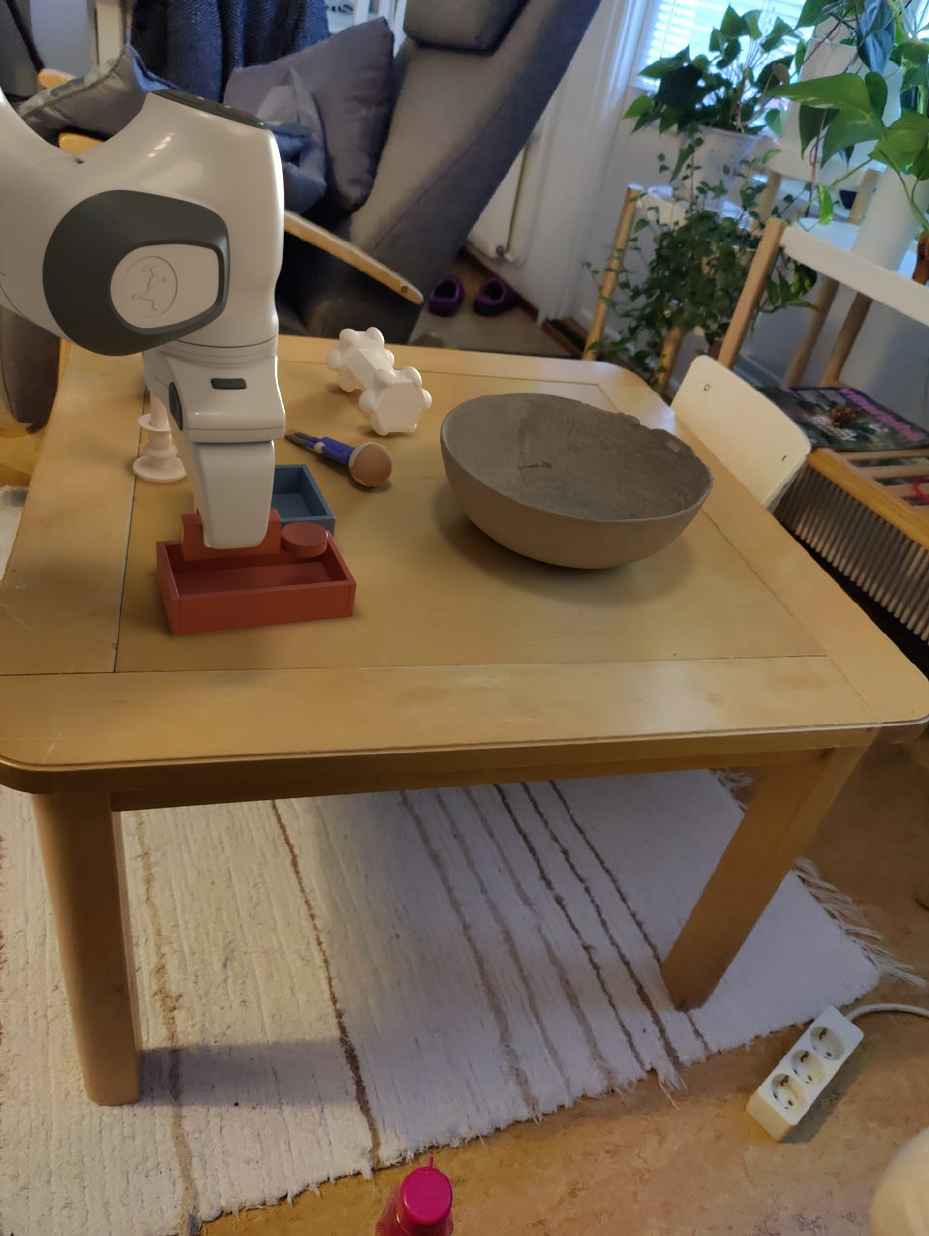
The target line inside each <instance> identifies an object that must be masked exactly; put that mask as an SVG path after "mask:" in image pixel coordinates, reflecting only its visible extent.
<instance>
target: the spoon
mask: <svg viewBox="0 0 929 1236" xmlns="http://www.w3.org/2000/svg"><path fill="white" fill-rule="evenodd" d="M179 524H180V525H179V526H180V527H179V529H180V540H181V550H182V553H183V557H184V560H185V561H192V560H204V559H216V558H228V557H240V556H252V555H264V554H276V553H280V532H281V547H282V549H283V550H284V551H285V552H287V553H288V554H291V555H293V556H297V557H305V558H308V557H315V556H318V555H321V554H322V553H324V552H325V550H326V548H327V536H328V535H327V532H326V530H325V529H324V528H322V527H321V526H319V525H317V524H314V523H309V522H294V523H290V524H288V525H286V526H284V527H283V529H282V531H281V519H280V517H279V515H278V513H277V511H276V509H270V514H269V521H268V527H267V532H266V535H265V537H264V539H263V540H262V542H261V543H260V544H259V545H257V546H254V547H245V548H232V549H215V548H213V547H210V548H209V547H206V546H205V544H204V542H203V539H202V535H201V517H200V514H194V513H187V514H185V513H183V514H179Z"/></svg>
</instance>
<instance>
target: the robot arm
mask: <svg viewBox="0 0 929 1236" xmlns="http://www.w3.org/2000/svg"><path fill="white" fill-rule="evenodd" d="M276 139H277V138H276V136H275V134H274V132H273V131H272V130H271V128H270V127H268V125H267V124H266V123H265V122H264V121H263V120H262V119H260V118H259V117H257V116H255V115H254V114H252V113H249V112H247V111H246V112H245V111H244V110H241V109H238V108H235V107H232V106H230V105H228V104H225V103H221V102H218V101H215V100H212V99H209V98H207V97H204V96H200V95H198V94H194V93H191V92H187V91H184V90H180V89H175V88H174V89H173V88H160V89H155V90H151V91H149V92H147V94H146V96H145V99H144V101H143V105H142V107H141V109H140V111H139V112H138V114H136V116H134V118H133V119H131V121H130V122H129V123H127V125H126V126H125V127H123V128H122V129H121V130H119V131H118V132H117V133H116V134H114V135H113V136H111V137H110V138H109V139H107V140H106V141H104V142H102V143H100V144H99V145H97V146H95V147H93V148H91V149H88V150H85V151H82V152H79V153H76V154H73V153H71V152H69V151H66V150H64V149H62V148H60V147H58V146H56V145H53V144H51V143H49V142H48V141H46V140H45V139H44V138H42V136H41V135H39V134H38V133H37V132H36V131H34V130H33V129H32V128H31V127H30V126H29V124H27V123H26V122H25V120H23V118H21V116H20V115H19V114H18V113H17V111H15V109H14V108H13V107H12V105H11V104H10V102H9V100H8V99H7V97H6V95H5V93H4V91H3V90H2V87H1V86H0V305H1V306H2V307H4V308H6V309H8V310H9V311H11V312H13V313H15V314H16V315H18V316H20V317H22V318H23V319H25V320H27V321H29V322H30V323H32V324H33V325H36V326H38V327H40V328H42V329H45V330H46V331H47V332H50V333H52V335H55V336H57V337H58V338H61V339H62V340H65V341H66V342H67V343H70V344H71V345H74V346H76V347H78V348H81V349H84V350H86V351H88V352H91V353H94V354H97V355H101V356H106V357H125V356H126V357H127V356H132V355H137V354H139V353H141V352H143V351H144V362H143V370H144V371H143V372H144V384H145V386H146V388H147V389H148V391H149V393H150V392H151V393H152V394H154V395H155V396H156V397H158V398H159V399H160V401H161V402H162V404H163V405H164V406H165V408H166V411H167V418H168V422H169V425H170V428H171V435H172V438H173V440H174V443H175V447H176V448H177V453H178V455H179V458H180V459H181V461H182V464H183V467H184V469H185V472H186V477H187V478H186V479H187V481H188V484H189V487H190V491H191V493H192V499H193V500H192V502H193V503H192V504H193V505H192V506H193V507H192V509H193V514H200V517H201V535H202V539H203V542H204V544H205V546H206V547H209V548H210V547H213V548H215V549H232V548H245V547H254V546H257V545H259V544H260V543H261V542H262V540H263V539H264V537H265V535H266V532H267V527H268V521H269V514H270V506H271V498H272V490H273V481H274V470H275V465H276V452H275V444H274V441H280V440H283V439H284V437H285V432H286V412H285V408H284V406H285V405H284V401H283V398H282V394H281V390H280V385H279V383H278V379H279V358H278V347H279V331H280V330H279V329H280V327H279V326H280V325H279V317H278V312H277V309H276V302H275V301H276V300H275V292H276V291H275V290H276V284H277V281H278V279H279V276H280V273H281V271H282V265H283V254H284V235H285V234H284V232H285V190H284V188H285V187H284V175H283V165H282V159H281V155H280V148H279V146H278V142H277V140H276Z"/></svg>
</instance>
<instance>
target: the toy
mask: <svg viewBox="0 0 929 1236" xmlns="http://www.w3.org/2000/svg"><path fill="white" fill-rule="evenodd" d="M284 437H285V439H287V440H288V441H289V442H292V443H294V444H297V445H300V446H303V447H305V448H310V449H312V450H314V451H315V452H316V453H317V454H319V455H322V456H324V457H326V458H328V459H330V460H333V461H335V462H337V463H340V464H343V465H346V466H348V468H349V472H350V474H351V476H352V477H353V479H354V480H355V481H356V482H357V483H358V484H360V485H362V486H365V487H378V486H380V485H383V484H384V483H385V482H386V481H387V480H389V478H390V477H391V475H392V472H393V469H394V461H393V457H392V455H391V453H390V451H389V450H388V449H387V448H386V447H385V446H383V445H382V444H380V443H378V442H373V441H369V442H364V443H361V444H359V445H357V446H356V447H353V446H351V445H349V444H346V443H344V442H341V441H339V440H336V439H333V438H330V437H328V436H323V437H321V438H320V437H317V436H311V435H309V434H306V433H304V432H301V431H299V432H293V434H284Z"/></svg>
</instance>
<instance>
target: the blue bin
mask: <svg viewBox="0 0 929 1236" xmlns="http://www.w3.org/2000/svg"><path fill="white" fill-rule="evenodd" d="M270 509H276V511H277V513H278V515H279V517H280V519H281V531H282V529H283V527H284V526H286V525H288V524H290V523H294V522H309V523H314V524H317V525H319V526H321V527H322V528H324V529H325V530H329V532H330V534H331V536H332V537H333V539H334V538H335V537H334V536H335V530H336V529H335V527H336V519H337V518H336V517H335V514H334V512H333V511H332V509H331V507H330V505H329V504H328V502H327V500H326V498H325V496H324V494H323V492H322V490H321V489H320V487H319V484H318V483H317V482H316V480H315V477H314V476H313V474H312V472H311V470H310V469H309V467H308V465H307V464H306V463H301V464H300V463H296V464H295V463H294V464H275V470H274V481H273V490H272V498H271V506H270ZM280 533H281V532H280Z"/></svg>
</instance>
